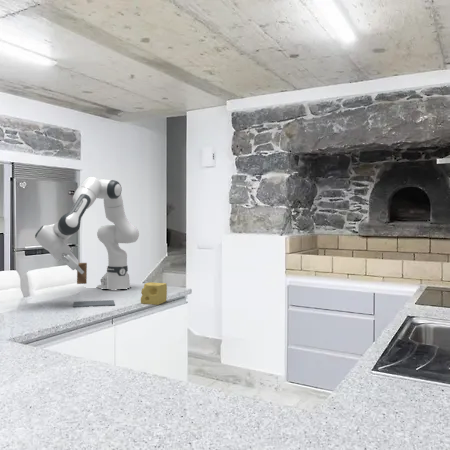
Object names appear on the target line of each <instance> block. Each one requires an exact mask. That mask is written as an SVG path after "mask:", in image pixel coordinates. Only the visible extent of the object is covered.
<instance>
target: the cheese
mask: <svg viewBox="0 0 450 450" xmlns="http://www.w3.org/2000/svg"><path fill="white" fill-rule="evenodd" d="M167 285H168V284H167V283H166V282H151V281H150V282H146V283H144V285H143V288H142V289H141V290H140V291H141V293H140V294H141V297H140V304H142V305H143V304H144V305H154V306H155V305H156V306H159V305H162V304H164V303H166V302H167V300H168V299H167V296H168V287H167Z"/></svg>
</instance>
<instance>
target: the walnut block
mask: <svg viewBox="0 0 450 450" xmlns="http://www.w3.org/2000/svg"><path fill="white" fill-rule="evenodd" d="M87 265H88V263H87V262H79V265H78V266H79V267H80V268H81V269H82V270H83V271H84V273H83V274H81V273H80V272H78V271H77V270H76V284H77V285H85V284H87V278H88V277H87V274H88V273H87V271H88V269H87V268H88V266H87Z"/></svg>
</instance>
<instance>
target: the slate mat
mask: <svg viewBox="0 0 450 450" xmlns="http://www.w3.org/2000/svg"><path fill="white" fill-rule="evenodd" d="M72 303H73V304H72V308H88V307H89V306H93V307H109V306H111V307H113V306H116V304H115V300H114V299H108V300H104V299H103V300H81V301H80V300H79V301H76V300H75V301H73V302H72ZM89 308H90V307H89Z"/></svg>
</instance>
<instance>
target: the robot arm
mask: <svg viewBox="0 0 450 450" xmlns="http://www.w3.org/2000/svg"><path fill="white" fill-rule="evenodd" d="M97 199H102V200H103V207H104V213H105V218H106V219H107V220H108V221H109V222H111V223H113V224H107V225H101V226H100V227H99V228H98V229H97V231H96V235H97V238H98V240H99V242H101V243H102V244H103V245H104V247H105V249H106V251H107V257H108V258H107V259H108V260H107V261H108V263H107V264H108V265H107V267H106V272H105V274H104V275H102V277H101V279H100V284H98V285H97V286H96V287H97V288H98V289H100V288H103V289H111V290H110V291H116V290H115V289H126V288H129V287H130V286H131V283H130V280H131V279H130V274H129V273H128V272H129V267H128V253H127V252H126V250H124V249H123V248H121V247H120V245H119V244H131V243H136V242H137V241H138V239H139V236H140V233H139V229H138V228H137V226H135V225H133V224H132V223H131V222H130V220H129V219H128V218H127V216H126V213H125V208H124V201H123V196H122V185H121V183H120V182H119V181H118V180H115V179H112V180H111V179H107V178H102V179H101V178H98V177H95V176H89V177H87V178H85V179H84V180H83V181H82V182H81V183H80V184H79V186H78V187H77V188H76V190H75V192H74V193H73V196H72V202H73V205H72V207H71V209H70V211H68V212H67V213H65V214H63V215H62V216H61V217H60V218H59V220H58V221H56V222H55V223H52V224H46V225H45V224H44V225H42V226H40V227H39V229H38V230H37V232H36V233H35V235H34V238H35V240H36V242H37V243H38V244H39V245H40V246H41V247H42V248H43V249H44V250H46V251H48V252H49V254H50V255H51V257H52V258H54V259H55V261H57V262H58V263H59V262H62V263H65V265H67V267H68V268H69V269H71V271H76V272H77V271H78V272H80V273H81V274H83V273H84V271H83V270H82V269H81V268H80V267H79V266H78V265H79V263H80V261H79V259H78V258H77V257H76V256H75V255H74V253H73V252H72V250H73V248H71V246H69V244H67V243H66V242H65V241H67V240H68V239H70V238H71V237H72V236H73V235H74V234H76V233H77V232H78V231H79V230H80V227H81V221H82V217H83V215H84V214H85V212H86V211H87V209H89V208H90V207H92V205H93V204H94V202H95V201H96V200H97ZM112 289H113V290H112ZM129 289H130V288H129Z"/></svg>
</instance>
